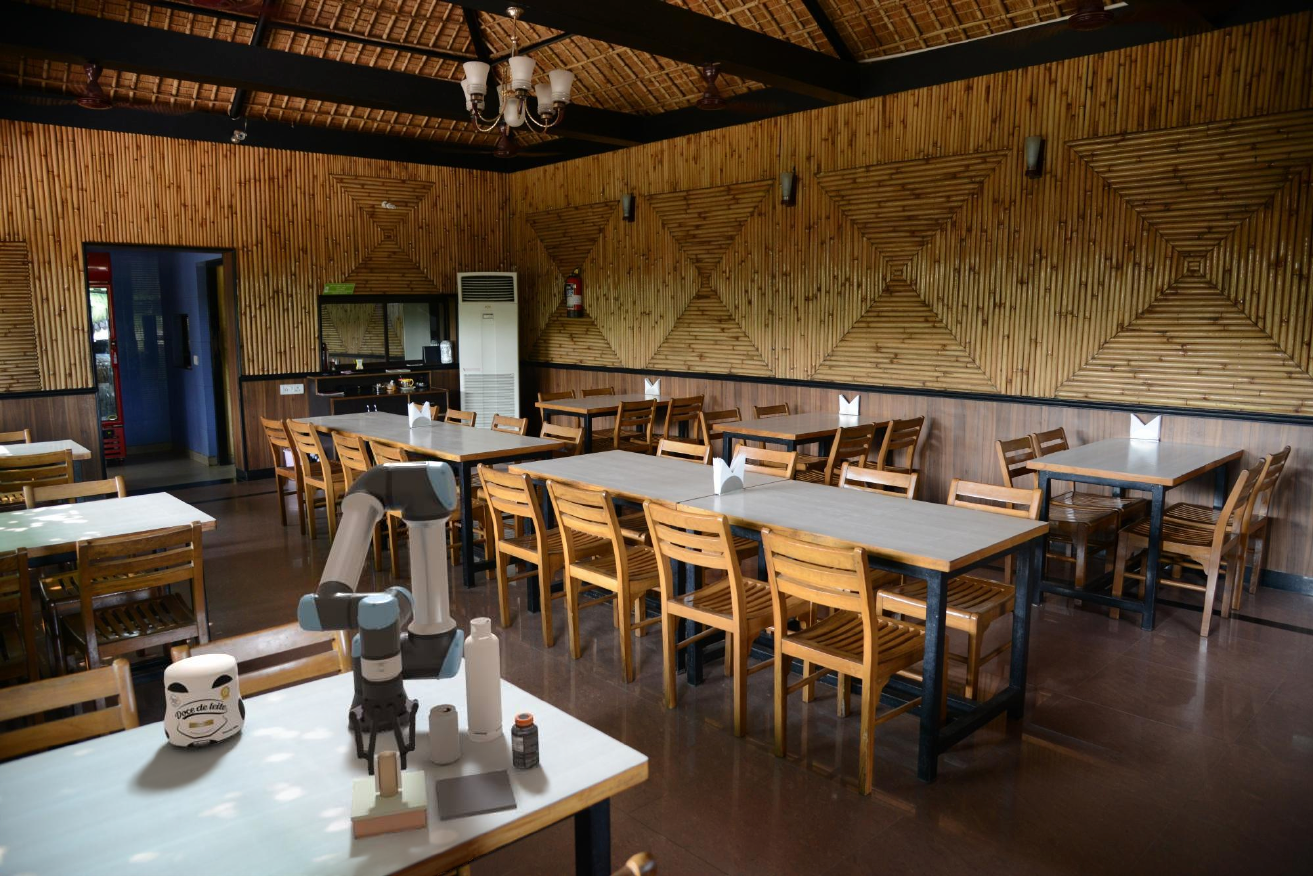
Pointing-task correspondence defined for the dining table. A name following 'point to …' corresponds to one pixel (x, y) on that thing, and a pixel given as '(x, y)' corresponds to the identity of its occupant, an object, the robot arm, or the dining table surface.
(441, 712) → the beverage can
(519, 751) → the pill bottle
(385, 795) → the lid
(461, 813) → the mat
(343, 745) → the dining table surface
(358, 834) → the dish
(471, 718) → the bottle
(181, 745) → the doce de leite tub
